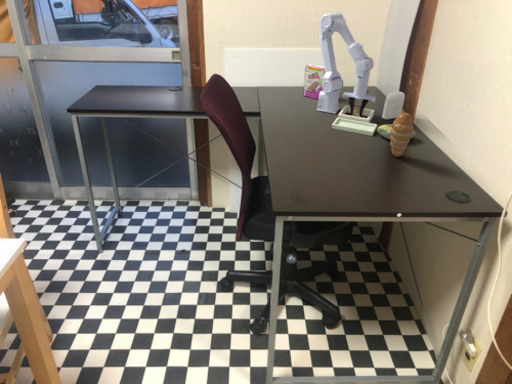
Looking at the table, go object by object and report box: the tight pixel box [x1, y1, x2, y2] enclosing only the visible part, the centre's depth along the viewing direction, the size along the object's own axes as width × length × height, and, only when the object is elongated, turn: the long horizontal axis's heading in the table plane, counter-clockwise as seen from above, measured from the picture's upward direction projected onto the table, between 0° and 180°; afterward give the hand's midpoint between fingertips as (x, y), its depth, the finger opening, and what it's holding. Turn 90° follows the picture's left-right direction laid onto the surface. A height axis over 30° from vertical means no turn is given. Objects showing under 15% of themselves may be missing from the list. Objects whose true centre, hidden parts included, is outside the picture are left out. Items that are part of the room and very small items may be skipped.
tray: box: [331, 116, 378, 137], centre depth 181 cm, size 18×10×2 cm, turn 66°
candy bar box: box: [302, 63, 325, 100], centre depth 214 cm, size 11×5×16 cm, turn 58°
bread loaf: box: [351, 104, 361, 117], centre depth 191 cm, size 4×4×6 cm
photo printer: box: [381, 91, 406, 120], centre depth 193 cm, size 10×4×12 cm, turn 123°
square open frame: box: [337, 105, 375, 123], centre depth 192 cm, size 14×14×3 cm
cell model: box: [376, 123, 417, 140], centre depth 173 cm, size 11×8×15 cm
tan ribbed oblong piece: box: [389, 109, 414, 158], centre depth 154 cm, size 9×8×18 cm
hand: (356, 114), depth 192 cm, fingers closed on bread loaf, 4 cm apart
